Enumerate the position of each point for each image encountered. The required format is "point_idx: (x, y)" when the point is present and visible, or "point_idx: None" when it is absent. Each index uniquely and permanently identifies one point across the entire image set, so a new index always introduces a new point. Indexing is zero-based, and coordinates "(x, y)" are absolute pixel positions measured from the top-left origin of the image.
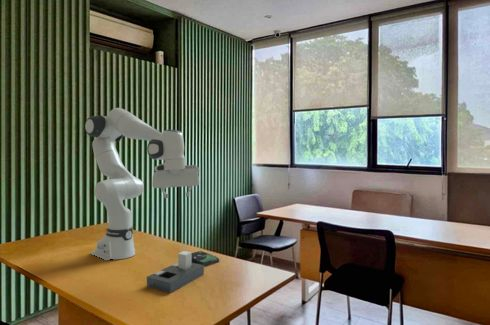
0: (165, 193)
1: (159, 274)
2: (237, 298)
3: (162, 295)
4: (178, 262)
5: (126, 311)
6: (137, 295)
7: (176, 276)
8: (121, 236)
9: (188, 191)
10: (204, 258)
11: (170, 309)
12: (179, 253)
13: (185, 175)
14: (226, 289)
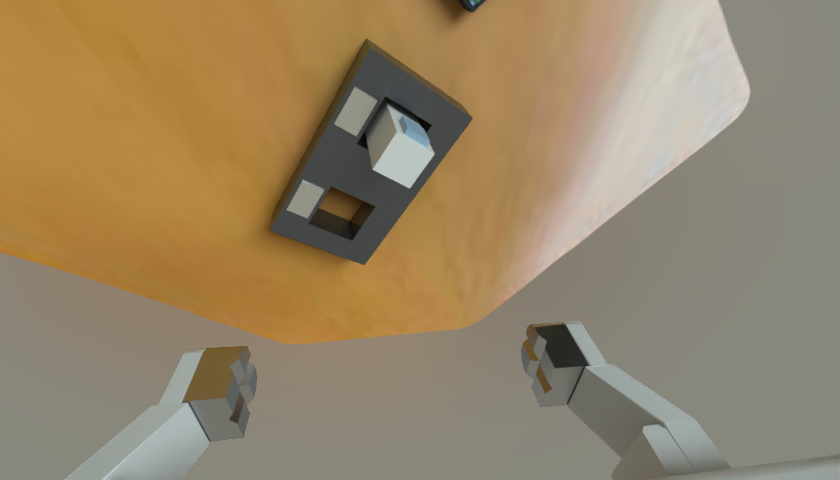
0: (194, 438)
1: (310, 212)
2: (527, 258)
3: None
4: (369, 151)
5: (281, 321)
6: (270, 260)
7: (375, 224)
8: None
9: (587, 421)
10: None
11: (377, 307)
12: (378, 168)
13: None
14: (514, 218)
